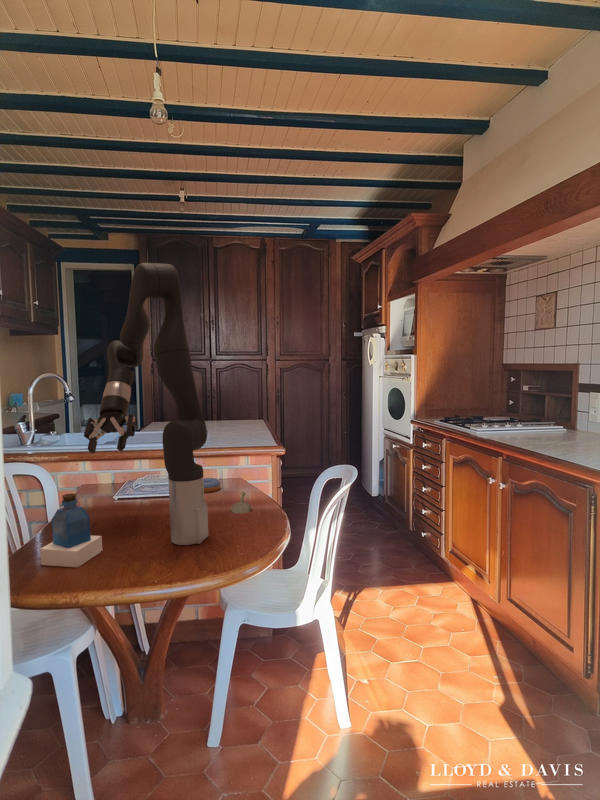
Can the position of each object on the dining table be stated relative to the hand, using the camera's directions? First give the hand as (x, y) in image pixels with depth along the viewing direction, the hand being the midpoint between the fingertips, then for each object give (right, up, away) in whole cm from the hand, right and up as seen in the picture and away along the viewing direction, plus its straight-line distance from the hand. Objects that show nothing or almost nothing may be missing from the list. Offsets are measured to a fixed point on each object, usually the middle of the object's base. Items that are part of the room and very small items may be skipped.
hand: (105, 451), depth 136 cm
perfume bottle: (-3, -22, -13) cm, 25 cm away
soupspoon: (+34, -22, +30) cm, 51 cm away
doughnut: (+19, -20, +48) cm, 56 cm away
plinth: (-3, -25, -13) cm, 29 cm away
